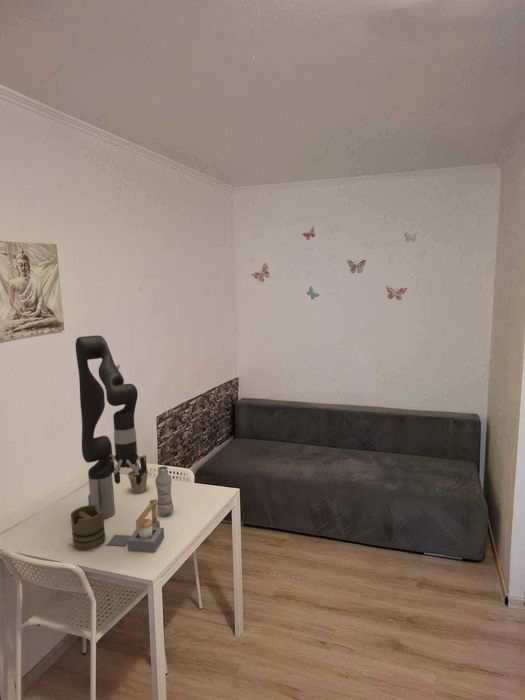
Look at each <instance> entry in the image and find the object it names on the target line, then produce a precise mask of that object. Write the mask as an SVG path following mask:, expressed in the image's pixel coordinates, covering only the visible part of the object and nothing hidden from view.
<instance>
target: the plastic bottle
mask: <svg viewBox="0 0 525 700" xmlns="http://www.w3.org/2000/svg"><path fill="white" fill-rule="evenodd" d="M168 472H169V470H168V467H167V466H164V465H163V466H159V467H158V468H157V473H158V474H157V476H156V477H155V480H154V482H155V486H156V493H157V501H158V505H157V506H156V510H157V514H159V515H160V516H169V515H172V513H173V512H174V503H173V499H172V492H171V491H172V477H171V475H170V474H169V473H168Z"/></svg>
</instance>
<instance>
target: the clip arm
mask: <svg viewBox="0 0 525 700" xmlns="http://www.w3.org/2000/svg"><path fill="white" fill-rule="evenodd" d="M157 505H158V499H151V500H149V504H148V505H147V506H146V508H145V509H144V510H143V512H142V513H141V514H140V515H139V516H138V518H137V519H136V520H135V525H136V526H135V527H136V529H137V532H141V523H142V521H143V520H144V519H146V518H147V516H148V515H149V514H150V512H152V509H153V507H154V506H156V507H157ZM136 529H135V530H136Z"/></svg>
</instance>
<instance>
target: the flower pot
mask: <svg viewBox="0 0 525 700" xmlns="http://www.w3.org/2000/svg"><path fill="white" fill-rule="evenodd" d="M136 475H137V474H136V473H135V471H133V470H131V471H129V472H128V473H127V477H128V479H129V483H130V487H131V492H132V493H133V494H139V493H140V494H142V493H144V492H146V491H147V483H148V482H147V480H148V479H147V478H148V475H149V471H148V469H147V470H146V471H145V472H144V473H143V474H142V482H141V483H140V484H139V485H137V484H136Z"/></svg>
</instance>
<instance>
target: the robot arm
mask: <svg viewBox="0 0 525 700" xmlns="http://www.w3.org/2000/svg"><path fill="white" fill-rule="evenodd" d="M75 355H76V363H77V370H78V378H79V379H78V381H79V402H80V413H81V453H82V458H83V460H84V461H85V462H86V463H89V464H90V463H94V462H96V463H95V464H94V465H92V466H91V467H90V468H89V469H88V471H87V472H88V473H87V474H88V485H89V486H88V487H89V494H88V495H87V498H88V499H87V500H88V505H96V508H97V510H98V511H99V512H101V510H103V516H104V520H105V519H108V518H111V517H113V516H114V515H115V513H116V507H115V506H116V505H115V497H114V496H115V494H114V493H115V492H114V483H115V484H116V485H118V484H120V482H121V473H120V470H121V468H123V469H125V468H127V469H131V471H135V473H136V474H137V475H136V484H137V485H139V484H140V483H141V482H142V474H143V473H144V472H145V471H146V470H147V471H148V469H147V468H148V467H147V456H146V455H145V454H144V455H142V456H141V455H138V445H137V433H136V432H137V431H136V427H135V410H136V405H137V401H138V393H139V391H138V389H137V387H136V386H135V385H134V383H125V379H124V377H123V375H122V374H121V372H120V370H119V368H118V367H117V366H116V363H115V362H114V358H113V356H112V353H111V350H110V348H109V346H108V343H107V341H106V339H105V338H104V336H102V335H99V334H97V335H88V336H84V335H83V336H79V337H77V338H76V339H75ZM98 359H102V360H101V362H100V365H99V367H98V376H99V377H98V378H100V381H101V382H102V385H103V386H104V388H103V386H102V385H101V383H100V382H99V381H98V380H97V379H96V377H95V376H94V375H93V373H92V371H91V370H90V367H89V363H88V361H89V360H98ZM104 390H105V391H104ZM105 394H106V397H105ZM105 398H106V399H105ZM106 402H107V403H108V404H109V405H110V406H112V407H119V406H122V405H123V406H124V407H123V408H121V409H120V410H118V411H116V412H114V413H113V417H112V419H113V429H114V431H113V437H114V438H113V439H114V443H113V444H114V452H115V454H113V448H112V447H113V446H112V441H111V439H110V438H109V436H107V435H100V436H97V437H95V429H96V427H97V425H98V422H99V421H100V419H101V417H102V415H103V413H104V410H105V408H106V407H105V406H106ZM115 461H116V462H117V464H116V466H115ZM138 461H139V463H140V464H139V463H138ZM113 478H114V479H113ZM113 480H114V481H113Z"/></svg>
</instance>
